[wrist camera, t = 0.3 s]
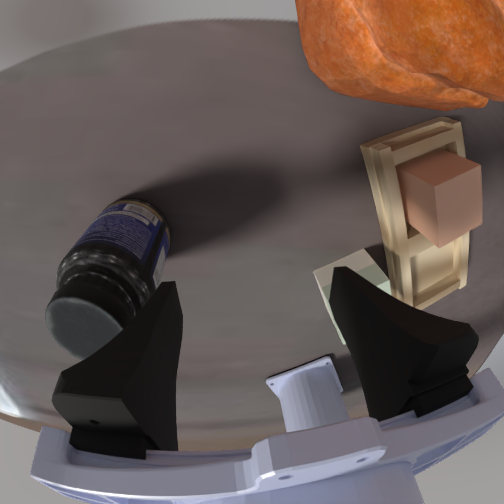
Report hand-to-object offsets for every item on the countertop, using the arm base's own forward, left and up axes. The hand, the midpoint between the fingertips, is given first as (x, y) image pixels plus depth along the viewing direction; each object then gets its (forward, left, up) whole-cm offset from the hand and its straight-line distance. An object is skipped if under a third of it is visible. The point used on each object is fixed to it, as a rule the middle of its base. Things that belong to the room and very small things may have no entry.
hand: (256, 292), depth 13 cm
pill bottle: (+2, +8, -10) cm, 13 cm away
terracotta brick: (-4, -15, -9) cm, 18 cm away
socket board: (-8, -15, -10) cm, 19 cm away
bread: (+18, -20, -10) cm, 29 cm away
